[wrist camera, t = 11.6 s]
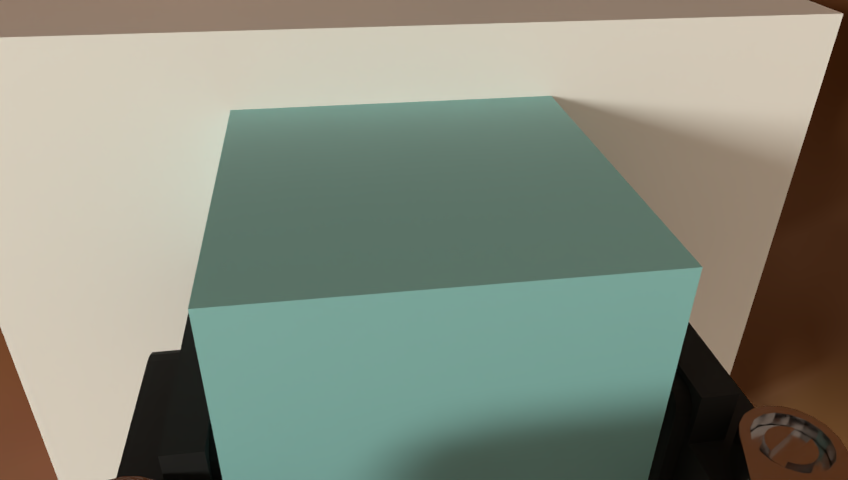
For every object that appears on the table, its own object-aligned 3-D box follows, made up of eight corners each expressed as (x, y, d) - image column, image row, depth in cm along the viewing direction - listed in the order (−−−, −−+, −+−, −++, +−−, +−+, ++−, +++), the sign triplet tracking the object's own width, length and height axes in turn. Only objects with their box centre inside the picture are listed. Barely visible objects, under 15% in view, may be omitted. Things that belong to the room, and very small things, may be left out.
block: (524, 339, 14) (623, 570, 10) (265, 364, 13) (251, 623, 9) (551, 95, 11) (702, 266, 7) (230, 110, 11) (186, 309, 6)
